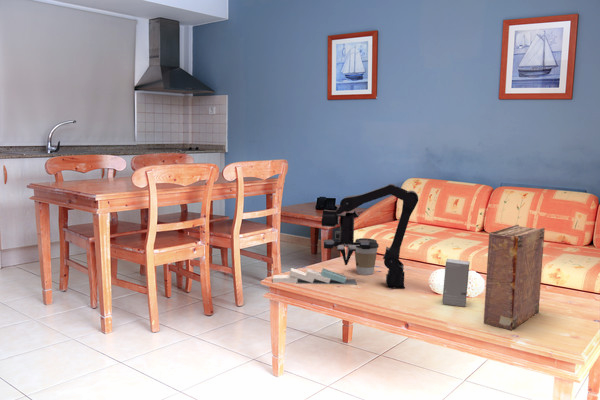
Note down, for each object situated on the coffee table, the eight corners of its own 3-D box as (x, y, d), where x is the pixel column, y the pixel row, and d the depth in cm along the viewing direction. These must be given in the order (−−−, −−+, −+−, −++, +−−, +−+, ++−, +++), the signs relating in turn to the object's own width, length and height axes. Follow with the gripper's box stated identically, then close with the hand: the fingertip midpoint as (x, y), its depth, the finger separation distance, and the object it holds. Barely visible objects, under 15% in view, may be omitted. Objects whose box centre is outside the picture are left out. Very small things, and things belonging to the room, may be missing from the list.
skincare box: (442, 304, 190) (444, 261, 188) (443, 299, 197) (445, 257, 195) (466, 307, 187) (468, 264, 186) (467, 301, 194) (469, 259, 192)
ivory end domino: (297, 274, 219) (273, 275, 219) (297, 277, 214) (272, 278, 214) (297, 279, 220) (273, 279, 220) (297, 282, 215) (273, 283, 215)
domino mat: (355, 279, 222) (355, 279, 222) (357, 285, 214) (357, 284, 214) (295, 278, 222) (295, 277, 222) (295, 284, 214) (295, 283, 214)
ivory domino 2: (329, 275, 219) (307, 268, 219) (330, 278, 214) (307, 271, 214) (328, 280, 220) (305, 272, 219) (328, 283, 215) (305, 275, 214)
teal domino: (345, 276, 219) (322, 268, 219) (346, 279, 214) (323, 271, 214) (343, 280, 220) (321, 272, 219) (344, 283, 215) (321, 275, 214)
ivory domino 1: (313, 275, 219) (291, 267, 219) (314, 278, 214) (291, 270, 214) (312, 279, 220) (289, 272, 219) (312, 283, 215) (289, 275, 214)
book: (512, 306, 190) (517, 224, 186) (539, 312, 184) (545, 227, 180) (483, 323, 171) (488, 232, 168) (512, 331, 165) (518, 236, 161)
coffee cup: (349, 270, 238) (350, 237, 236) (374, 270, 239) (375, 237, 238) (355, 276, 227) (356, 242, 225) (380, 276, 228) (382, 242, 226)
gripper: (367, 224, 222) (366, 260, 224) (323, 224, 222) (322, 260, 224) (370, 229, 211) (369, 267, 213) (324, 228, 211) (323, 266, 213)
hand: (345, 265), depth 216 cm, fingers closed
